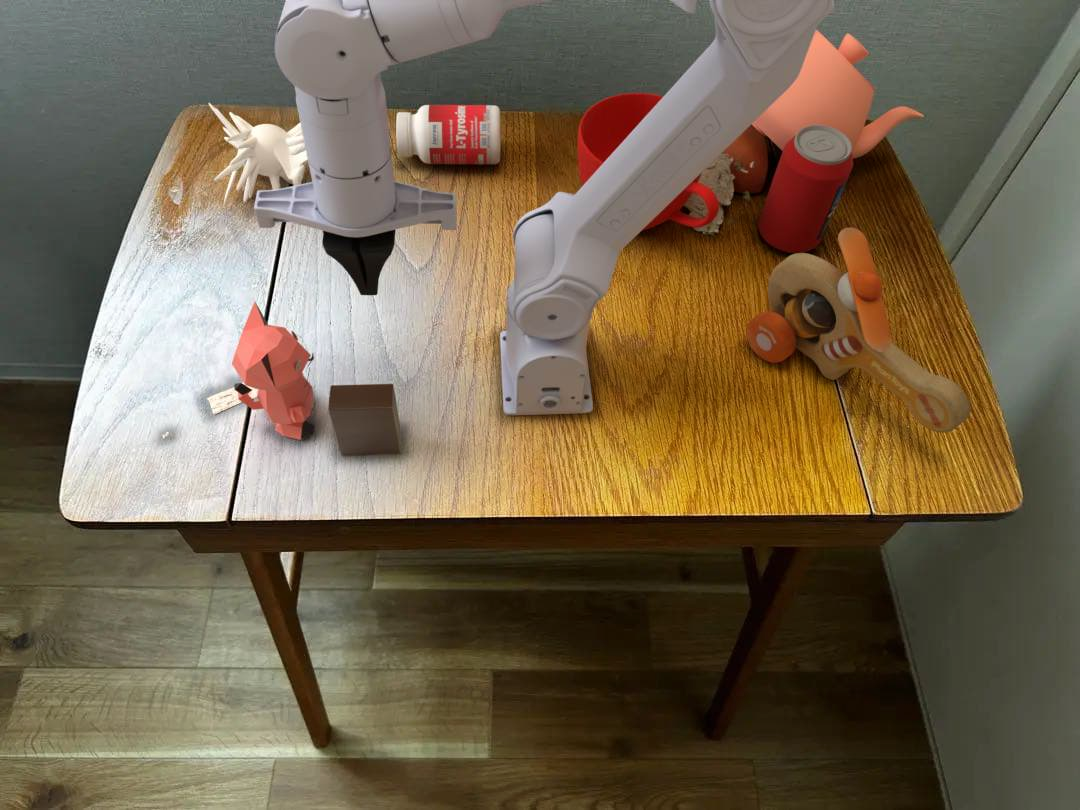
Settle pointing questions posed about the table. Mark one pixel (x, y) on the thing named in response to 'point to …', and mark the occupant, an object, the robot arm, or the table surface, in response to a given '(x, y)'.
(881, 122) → the teapot
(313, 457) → the table surface
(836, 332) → the toy helicopter
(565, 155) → the table surface
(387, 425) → the walnut block
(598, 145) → the ceramic cup
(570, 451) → the table surface
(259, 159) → the spiky ball
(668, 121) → the robot arm
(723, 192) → the stone fragment
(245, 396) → the cat figurine
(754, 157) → the brown egg
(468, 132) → the pill bottle
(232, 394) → the card
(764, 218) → the beverage can
